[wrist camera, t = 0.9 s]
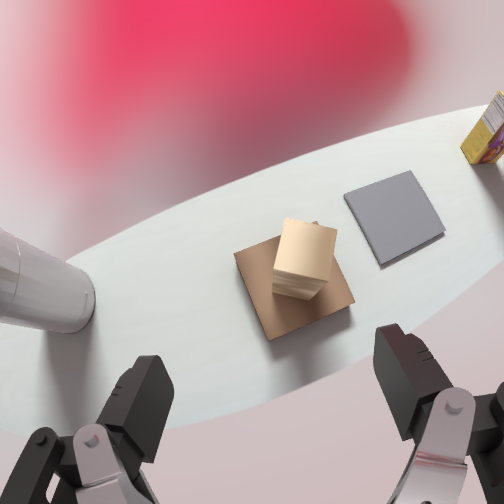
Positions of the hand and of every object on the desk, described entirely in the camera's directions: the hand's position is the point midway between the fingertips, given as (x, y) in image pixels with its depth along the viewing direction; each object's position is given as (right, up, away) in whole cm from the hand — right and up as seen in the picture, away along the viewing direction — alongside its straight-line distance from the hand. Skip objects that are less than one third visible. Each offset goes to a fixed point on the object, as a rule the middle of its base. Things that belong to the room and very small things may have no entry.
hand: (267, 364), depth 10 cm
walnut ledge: (+4, +1, +23) cm, 23 cm away
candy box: (+41, +22, +27) cm, 54 cm away
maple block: (+4, +1, +20) cm, 21 cm away
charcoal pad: (+19, +9, +25) cm, 32 cm away
